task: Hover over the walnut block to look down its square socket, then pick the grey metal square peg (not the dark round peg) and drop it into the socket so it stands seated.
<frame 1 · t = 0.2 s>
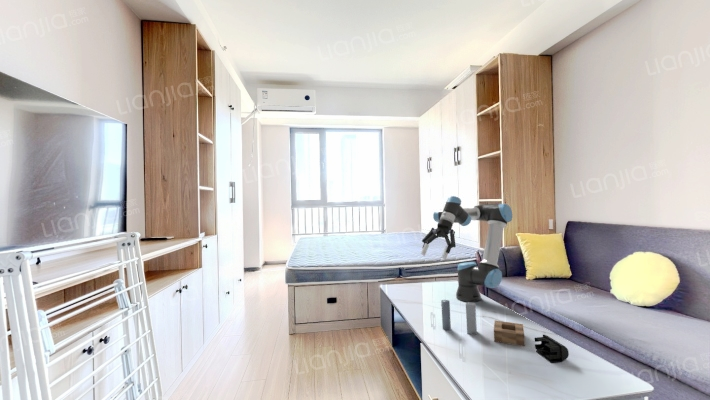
hand: (432, 256, 152), 36 cm above the table, tool tilted 35°, fingers open, 13 cm apart
square peg: (472, 332, 141), on the table
socket block: (509, 338, 134), on the table
round peg: (446, 328, 147), on the table
end cap: (551, 357, 117), on the table
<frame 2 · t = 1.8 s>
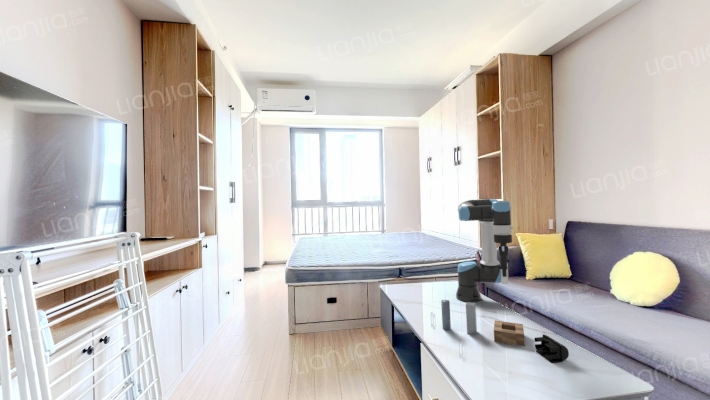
hand: (505, 279, 134), 27 cm above the table, tool pointing down, fingers open, 13 cm apart
nothing on the table moved.
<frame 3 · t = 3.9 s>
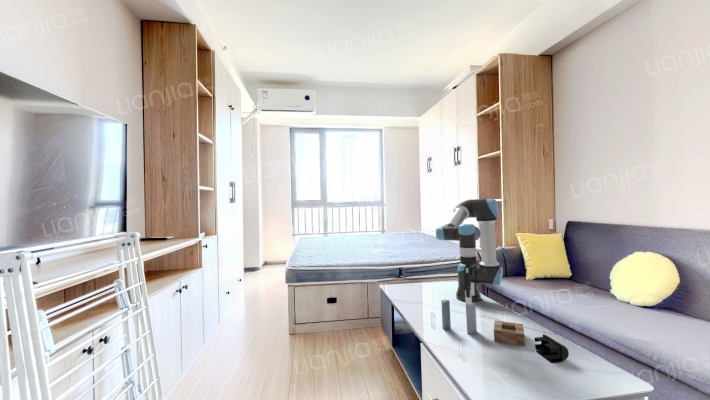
hand: (470, 299, 141), 16 cm above the table, tool pointing down, fingers open, 13 cm apart
nothing on the table moved.
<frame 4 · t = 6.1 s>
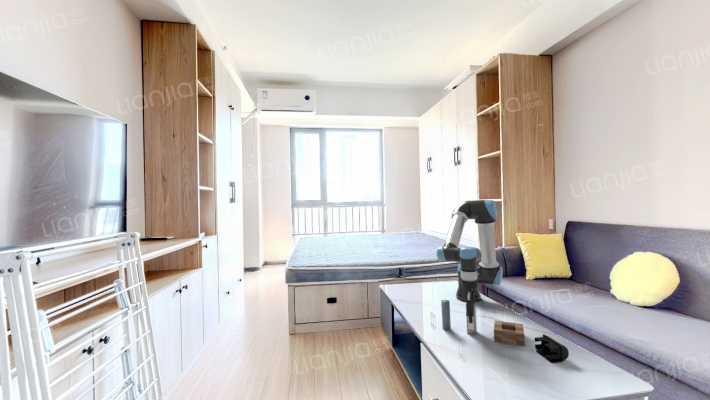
hand: (471, 327, 141), 3 cm above the table, tool pointing down, fingers closed on square peg, 4 cm apart
square peg: (472, 332, 141), on the table, touching gripper
everything else where it was.
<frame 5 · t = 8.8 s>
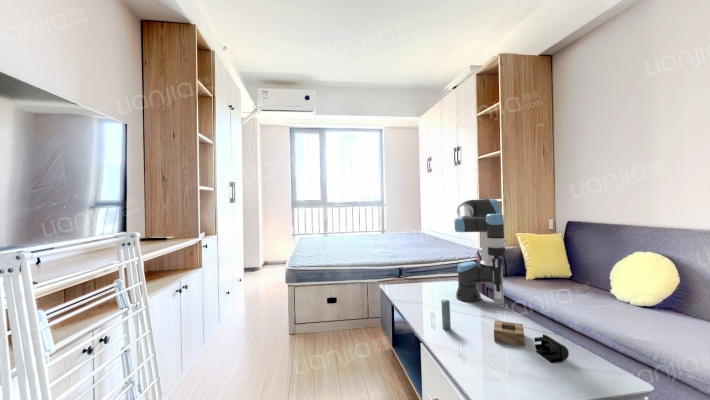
hand: (498, 296, 136), 19 cm above the table, tool pointing down, fingers closed on square peg, 4 cm apart
square peg: (499, 302, 136), point 16 cm above the table, touching gripper
everything else where it was.
when the fingers open (7 cm above the table, at t = 11.9 s): square peg drops 4 cm, resting in socket block.
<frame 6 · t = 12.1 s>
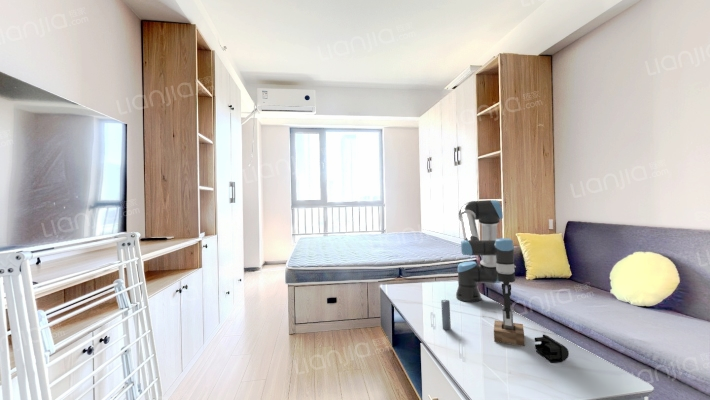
hand: (508, 321, 134), 8 cm above the table, tool pointing down, fingers open, 7 cm apart
square peg: (509, 337, 134), resting in socket block
everything else where it was.
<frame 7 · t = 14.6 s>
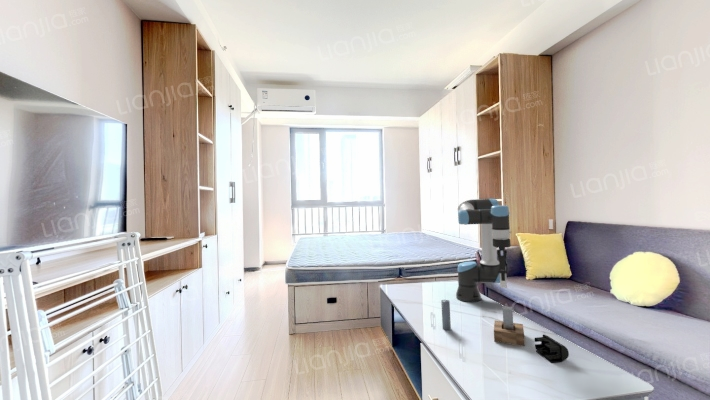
hand: (503, 283, 136), 25 cm above the table, tool pointing down, fingers open, 13 cm apart
nothing on the table moved.
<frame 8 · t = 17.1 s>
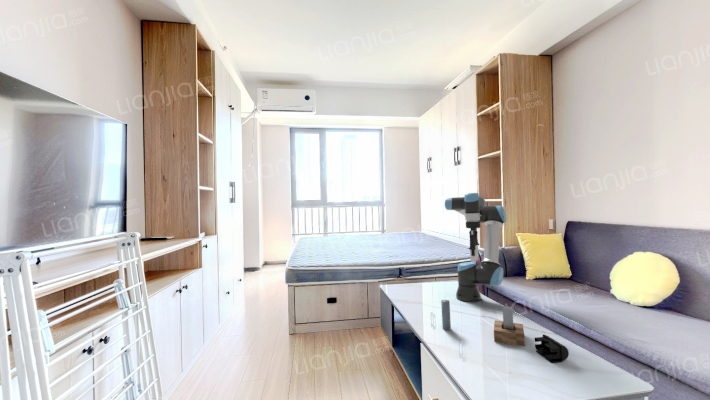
hand: (474, 259, 160), 32 cm above the table, tool pointing down, fingers open, 13 cm apart
nothing on the table moved.
at the end: square peg 0.0 cm off-centre on the socket block, point 0.0 cm above the socket block's base; square peg tilted 0°; the gripper is holding nothing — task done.
